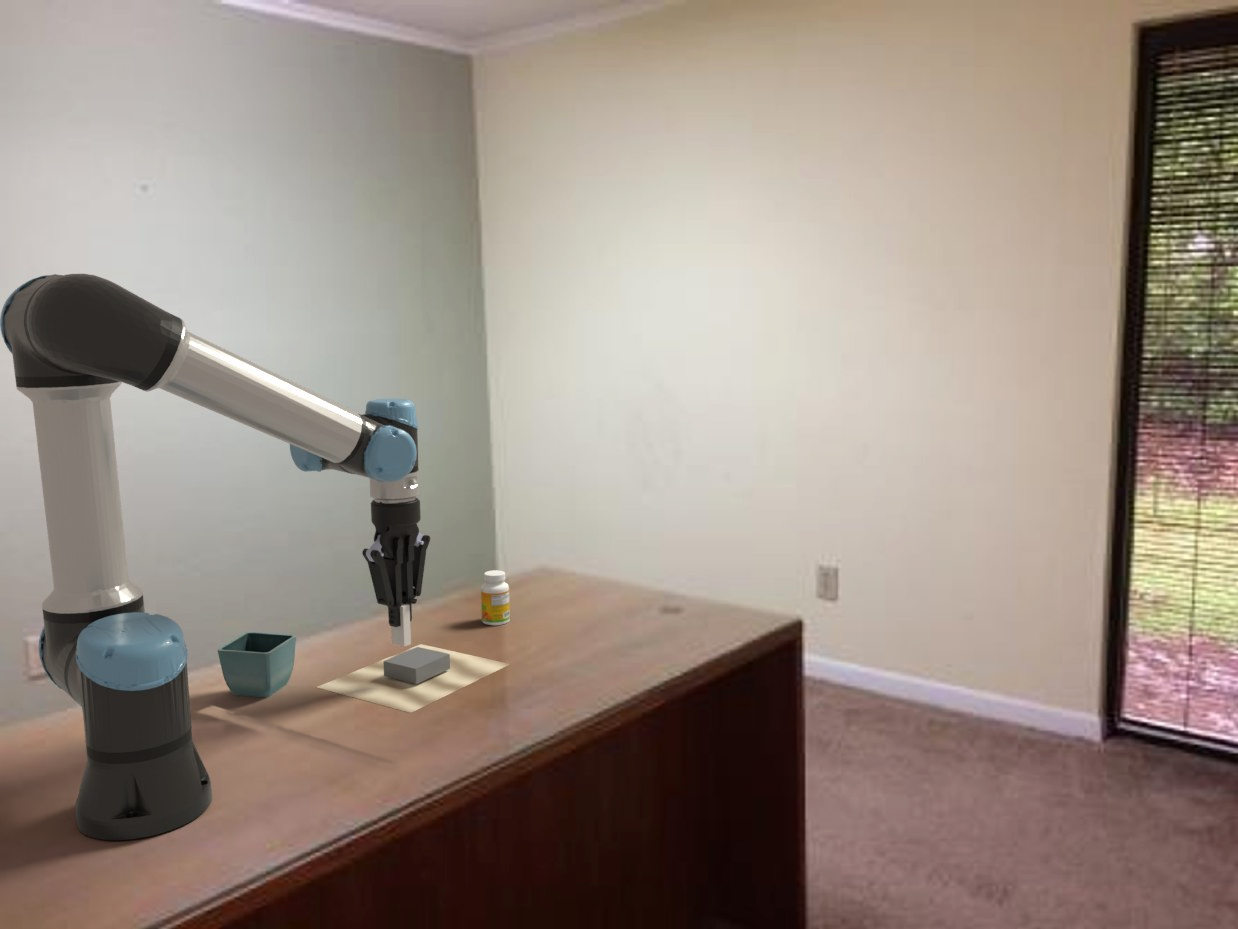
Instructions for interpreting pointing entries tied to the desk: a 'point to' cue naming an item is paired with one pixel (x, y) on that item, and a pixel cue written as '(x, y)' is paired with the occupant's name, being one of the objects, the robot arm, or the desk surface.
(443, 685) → the board
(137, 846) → the desk surface
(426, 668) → the tile
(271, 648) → the flower pot
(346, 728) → the desk surface
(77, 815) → the robot arm
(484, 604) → the supplement bottle
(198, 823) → the desk surface
